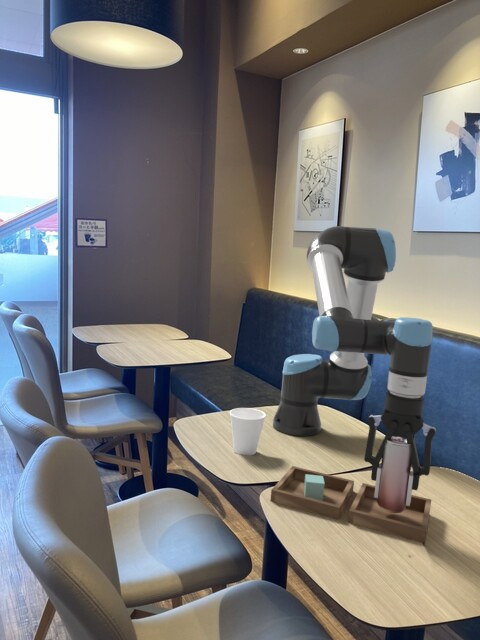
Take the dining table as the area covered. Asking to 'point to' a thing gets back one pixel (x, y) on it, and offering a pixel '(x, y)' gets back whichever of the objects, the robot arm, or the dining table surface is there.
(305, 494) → the teal block
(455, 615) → the dining table surface
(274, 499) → the tray
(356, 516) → the tray
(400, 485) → the beverage can
